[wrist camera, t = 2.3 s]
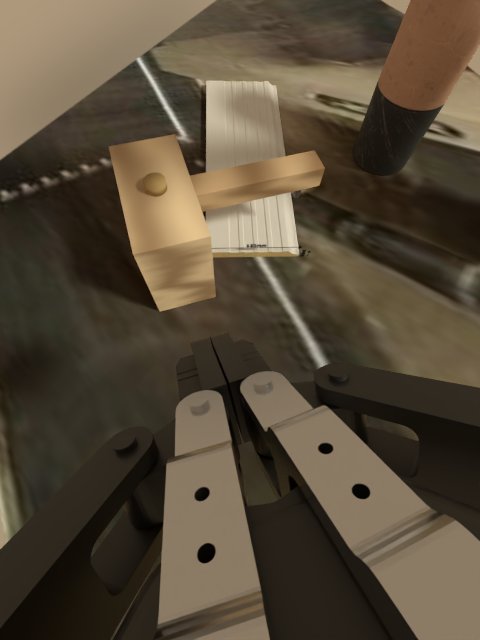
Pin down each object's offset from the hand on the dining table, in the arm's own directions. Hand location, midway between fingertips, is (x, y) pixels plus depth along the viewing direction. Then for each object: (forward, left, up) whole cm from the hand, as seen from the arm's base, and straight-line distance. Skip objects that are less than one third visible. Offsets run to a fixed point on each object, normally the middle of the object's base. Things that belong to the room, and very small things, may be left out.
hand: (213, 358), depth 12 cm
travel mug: (-30, -26, -18) cm, 43 cm away
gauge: (-6, -18, -18) cm, 26 cm away
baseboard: (-13, -30, -18) cm, 38 cm away
